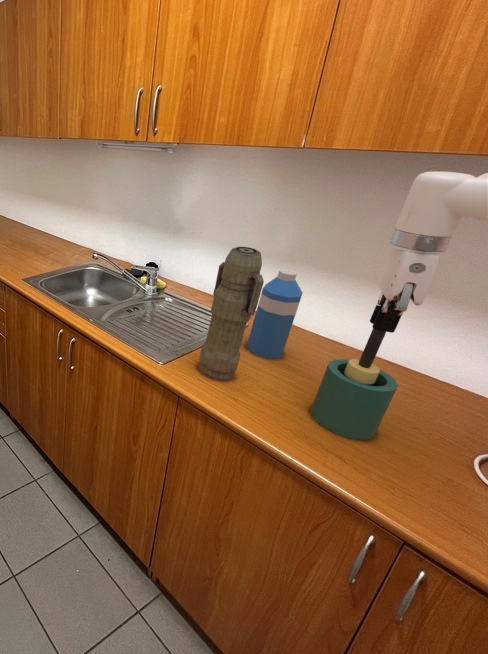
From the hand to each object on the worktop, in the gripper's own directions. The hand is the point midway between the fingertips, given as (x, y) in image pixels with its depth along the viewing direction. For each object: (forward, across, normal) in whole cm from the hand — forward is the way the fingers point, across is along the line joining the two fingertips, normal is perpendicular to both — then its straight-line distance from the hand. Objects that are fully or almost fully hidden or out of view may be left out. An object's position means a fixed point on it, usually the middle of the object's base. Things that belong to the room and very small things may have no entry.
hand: (381, 326), depth 80 cm
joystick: (+13, 0, 0) cm, 13 cm away
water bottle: (+25, +25, +15) cm, 38 cm away
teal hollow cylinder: (+25, 0, 0) cm, 25 cm away
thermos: (+25, +6, +26) cm, 36 cm away
